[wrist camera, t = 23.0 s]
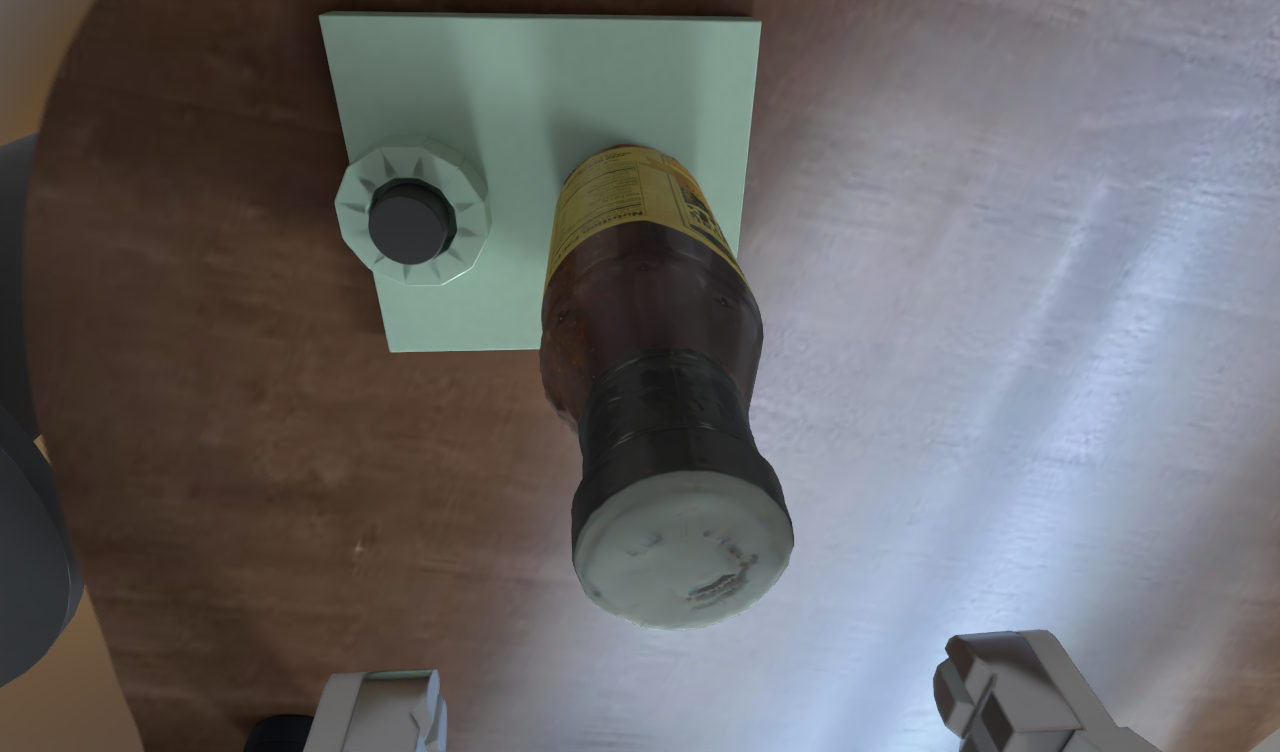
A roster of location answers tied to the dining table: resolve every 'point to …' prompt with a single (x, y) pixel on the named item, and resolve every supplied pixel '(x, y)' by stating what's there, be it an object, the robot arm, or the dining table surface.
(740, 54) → the green panel with knob
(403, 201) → the button
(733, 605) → the sauce bottle
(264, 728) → the navy water bottle
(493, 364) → the dining table surface
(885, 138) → the dining table surface
